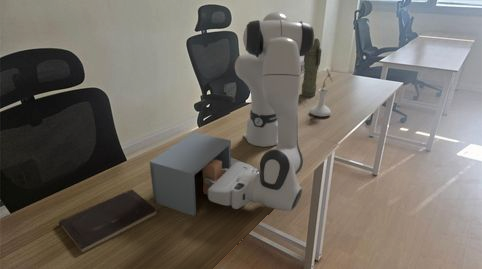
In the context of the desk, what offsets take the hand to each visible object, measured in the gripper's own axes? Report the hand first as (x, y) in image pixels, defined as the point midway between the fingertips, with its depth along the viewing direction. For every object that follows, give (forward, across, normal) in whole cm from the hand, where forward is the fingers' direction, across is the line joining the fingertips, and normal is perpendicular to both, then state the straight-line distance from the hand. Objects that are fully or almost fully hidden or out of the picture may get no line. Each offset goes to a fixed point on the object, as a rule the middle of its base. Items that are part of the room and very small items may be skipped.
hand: (210, 175), depth 107 cm
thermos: (0, -122, +7) cm, 122 cm away
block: (-1, 0, +6) cm, 6 cm away
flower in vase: (-15, -92, +8) cm, 94 cm away
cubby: (+6, 0, +8) cm, 10 cm away
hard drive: (+2, -20, +8) cm, 22 cm away
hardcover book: (+20, +25, +8) cm, 33 cm away
